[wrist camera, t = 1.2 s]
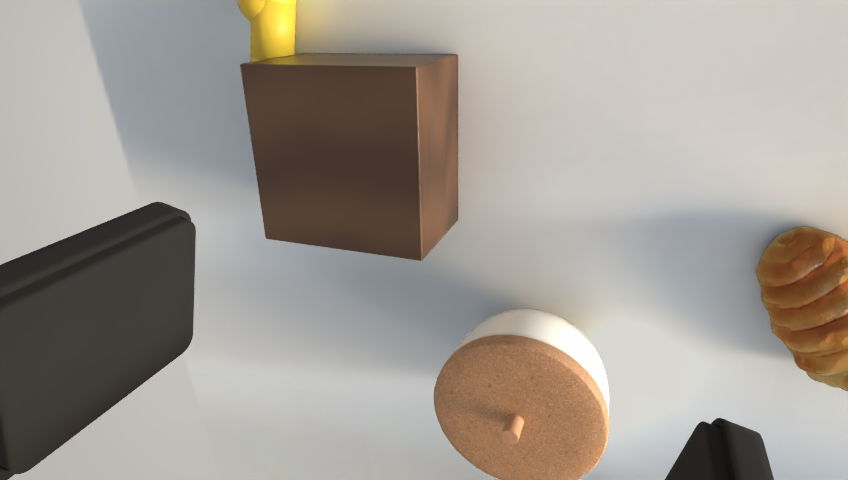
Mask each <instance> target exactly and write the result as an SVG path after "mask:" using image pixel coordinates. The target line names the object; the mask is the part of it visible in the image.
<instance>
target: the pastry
mask: <svg viewBox="0 0 848 480" xmlns="http://www.w3.org/2000/svg"><path fill="white" fill-rule="evenodd" d="M756 274H757V277H758V280H759V283H760V285H761V298H762V301H763V303H764V306H765V308H766V310H767V311H768V313H769V315H770V320H771V329H772V332H773V333H774V334H775V335H776V336H777V337H778V338H780V339H781V340H782V341H783V342H784V344H785V345H786V347H787V348H788V349H789V350H790V351H791V353H792V354H793V356H794V360H795V363H796V364H797V366H798V367H799V368H800V369H802V370H804V371H806V373H807V374H808V376H809V377H810V378H812V379H813V380H815V381H818V382H822V383H825V384H827V385H829V386H832V387H839V388H841V389H843V390H845V391H848V242H847V241H846V240H844V239H842V238H841V237H839V236H837V235H835V234H832V233H829V232H826V231H822V230H819V229H816V228H813V227H796V228H793V229H791V230H789V231H787V232H784V233H782V234H780V235H779V236H777V237H776V238H775V239H774V240H773V241H772V242H771V243H770V245H769V246H768V247H767V248H766V249H765V251H764V253H763V255H762V257H761V259H760V261H759V263H758V264H757V267H756Z"/></svg>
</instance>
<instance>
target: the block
mask: <svg viewBox="0 0 848 480" xmlns="http://www.w3.org/2000/svg"><path fill="white" fill-rule="evenodd" d="M240 66H241V73H242V80H243V87H244V93H245V100H246V107H247V114H248V120H249V127H250V134H251V141H252V147H253V154H254V161H255V168H256V175H257V181H258V188H259V195H260V202H261V208H262V215H263V222H264V229H265V236H266V239H272V240H280V241H287V242H294V243H301V244H308V245H315V246H322V247H329V248H336V249H343V250H350V251H357V252H364V253H371V254H378V255H385V256H392V257H399V258H406V259H413V260H420V261H421V260H423V259H424V258H425V257H426V256H427V254H428V253H429V252H430V251H431V250H432V249H433V248H434V246H435V245H436V244H437V243H438V242H439V241H440V240H441V238H442V237H443V236H444V235H445V234H446V233H447V232H448V230H449V229H450V228H451V227H452V226H453V225H454V224H455V222H456V221H457V220H458V55H457V54H365V53H302V54H296V55H290V56H284V57H278V58H272V59H266V60H260V61H255V62H249V63H243V64H241V65H240Z"/></svg>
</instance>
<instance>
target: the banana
mask: <svg viewBox="0 0 848 480" xmlns="http://www.w3.org/2000/svg"><path fill="white" fill-rule="evenodd" d="M237 2H238V5H239V8H240V10H241V12H242V13H243V14H244V16H245V17H246V18H247V19H248V20H250V21H251V62H255V61H260V60H266V59H272V58H278V57H284V56H290V55H294V48H295V20H296V0H237Z"/></svg>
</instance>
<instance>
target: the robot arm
mask: <svg viewBox="0 0 848 480" xmlns="http://www.w3.org/2000/svg"><path fill="white" fill-rule="evenodd" d="M195 236H196V230H195V226H194V224H193V223H192V222H191V218H190V216H189V214H188V213H187V212H185V211H183V210H180V209H178V208H175V207H172V206H170V205H167V204H165V203H162V202H155V203H151V204H149V205H146V206H144V207H141V208H139V209H137V210H134V211H132V212H129V213H127V214H124V215H122V216H120V217H117V218H114V219H112V220H110V221H107V222H105V223H102V224H100V225H97V226H95V227H92V228H90V229H88V230H85V231H83V232H80V233H78V234H76V235H73V236H70V237H68V238H66V239H63V240H60V241H58V242H56V243H53V244H51V245H48V246H46V247H43V248H41V249H39V250H36V251H33V252H31V253H29V254H26V255H24V256H21V257H19V258H16V259H14V260H11V261H9V262H6V263H4V264H2V265H0V480H7V479H9V478H10V477H12V476H13V475H14V474H21V473H24V472H26V471H28V470H30V469H31V468H32V467H34V466H35V465H37V464H38V463H39V462H40V461H41V460H43V459H44V458H46V457H47V456H48V455H50V454H51V453H52V452H54V451H55V450H56V449H58V448H59V447H60V446H61V445H63V444H64V443H65V442H67V441H68V440H69V439H71V438H72V437H73V436H74V435H76V434H77V433H79V432H80V431H81V430H82V429H84V428H85V427H86V426H87V425H89V424H90V423H92V422H93V421H94V420H96V419H97V418H98V417H99V416H101V415H102V414H103V413H105V412H106V411H107V410H109V409H110V408H111V407H112V406H114V405H115V404H116V403H118V402H119V401H120V400H122V399H123V398H124V397H126V396H127V395H128V394H130V393H131V392H132V391H134V390H135V389H136V388H137V387H139V386H140V385H141V384H143V383H144V382H145V381H146V380H148V379H149V378H151V377H152V376H153V375H155V374H156V373H157V372H159V371H160V370H161V369H162V368H164V367H165V366H166V365H168V364H169V363H170V362H172V361H173V360H174V359H176V358H177V357H178V356H180V355H181V354H182V353H183V352H184V351H185V350H186V349H187V348H188V346H189V344H190V343H191V340H192V336H193V310H194V273H195ZM665 480H774V478H773V475H772V471H771V468H770V464H769V460H768V457H767V453H766V450H765V446H764V443H763V439H762V437H761V435H760V434H759V433H757V432H755V431H753V430H750V429H747V428H745V427H742V426H740V425H737V424H735V423H732V422H729V421H727V420H724V419H722V418H717V419H716V420H714V421H713V422H712V424H708V423H706V422H700V423H699V424H698V425H697V427H696V428H695V430H694V431H693V433H692V435H691V437H690V438H689V440H688V442H687V443H686V445H685V447H684V448H683V450H682V452H681V453H680V455H679V457H678V459H677V460H676V462H675V464H674V465H673V467H672V469H671V470H670V472H669V474H668V475H667V477H666V479H665Z"/></svg>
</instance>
